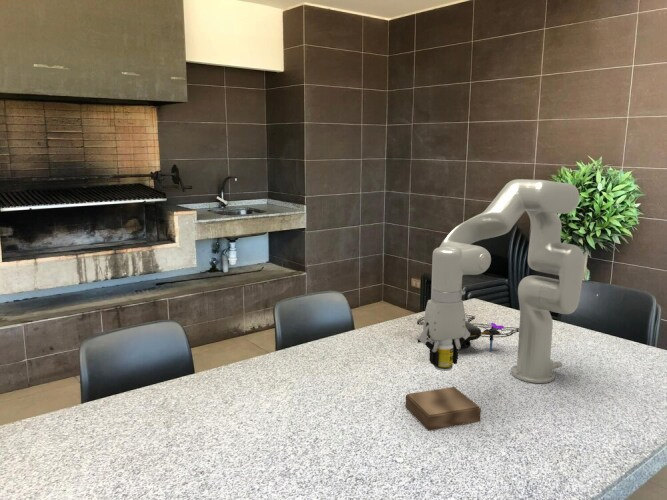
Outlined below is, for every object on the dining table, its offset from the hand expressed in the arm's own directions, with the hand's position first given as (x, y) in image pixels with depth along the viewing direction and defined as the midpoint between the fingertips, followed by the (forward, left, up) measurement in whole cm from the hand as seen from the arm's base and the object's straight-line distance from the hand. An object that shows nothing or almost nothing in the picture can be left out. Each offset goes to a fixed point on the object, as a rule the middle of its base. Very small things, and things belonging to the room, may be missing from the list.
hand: (443, 362), depth 136 cm
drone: (-31, -45, -15) cm, 56 cm away
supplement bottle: (0, 0, -2) cm, 2 cm away
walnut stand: (0, 0, -14) cm, 14 cm away
